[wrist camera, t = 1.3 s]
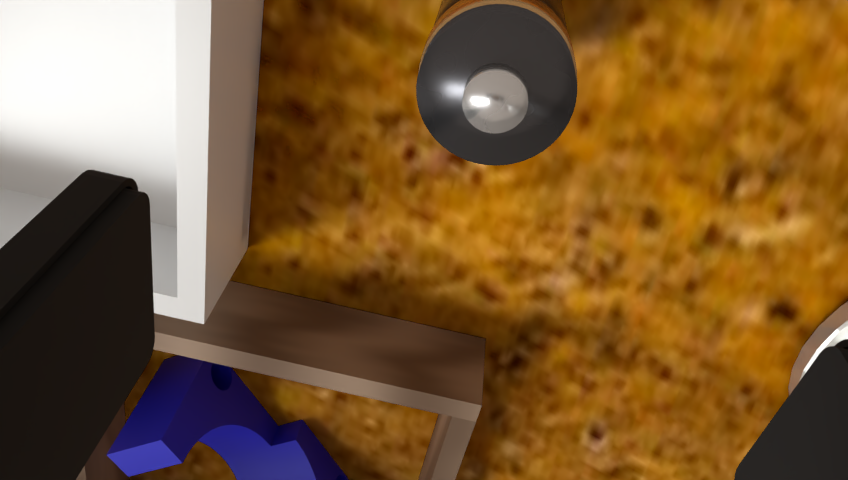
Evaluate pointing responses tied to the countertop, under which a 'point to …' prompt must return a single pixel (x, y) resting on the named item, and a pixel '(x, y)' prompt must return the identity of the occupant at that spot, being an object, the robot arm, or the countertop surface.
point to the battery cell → (497, 78)
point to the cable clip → (216, 428)
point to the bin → (138, 124)
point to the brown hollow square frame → (331, 363)
